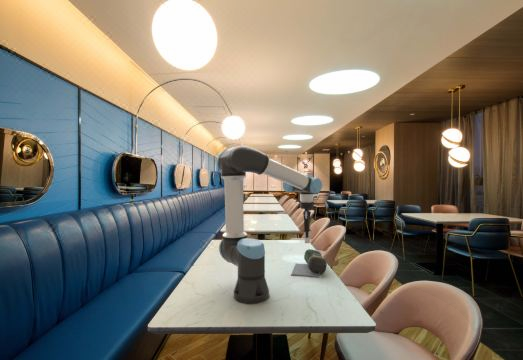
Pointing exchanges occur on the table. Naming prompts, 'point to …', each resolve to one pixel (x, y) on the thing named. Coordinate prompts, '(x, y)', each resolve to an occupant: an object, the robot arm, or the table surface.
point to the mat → (303, 271)
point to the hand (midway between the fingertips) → (307, 242)
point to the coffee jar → (315, 261)
